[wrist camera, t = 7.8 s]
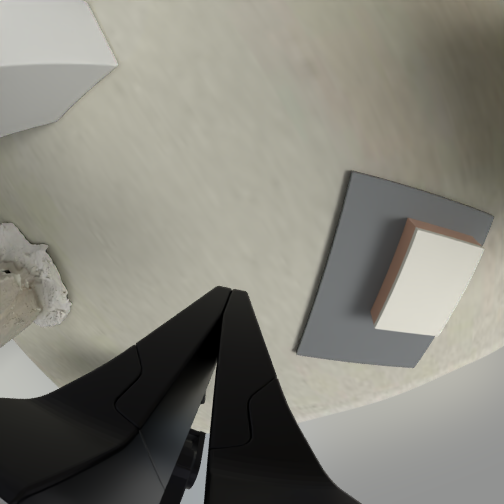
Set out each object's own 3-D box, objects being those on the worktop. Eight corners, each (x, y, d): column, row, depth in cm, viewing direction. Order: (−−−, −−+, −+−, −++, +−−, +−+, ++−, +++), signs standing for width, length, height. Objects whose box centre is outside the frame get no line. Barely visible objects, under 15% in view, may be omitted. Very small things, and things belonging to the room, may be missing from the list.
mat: (413, 365, 25) (414, 367, 25) (296, 351, 26) (296, 354, 25) (491, 214, 17) (494, 216, 17) (351, 170, 18) (352, 172, 17)
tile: (370, 311, 22) (431, 320, 22) (374, 328, 20) (438, 336, 20) (407, 217, 18) (472, 236, 18) (417, 229, 16) (484, 249, 16)
